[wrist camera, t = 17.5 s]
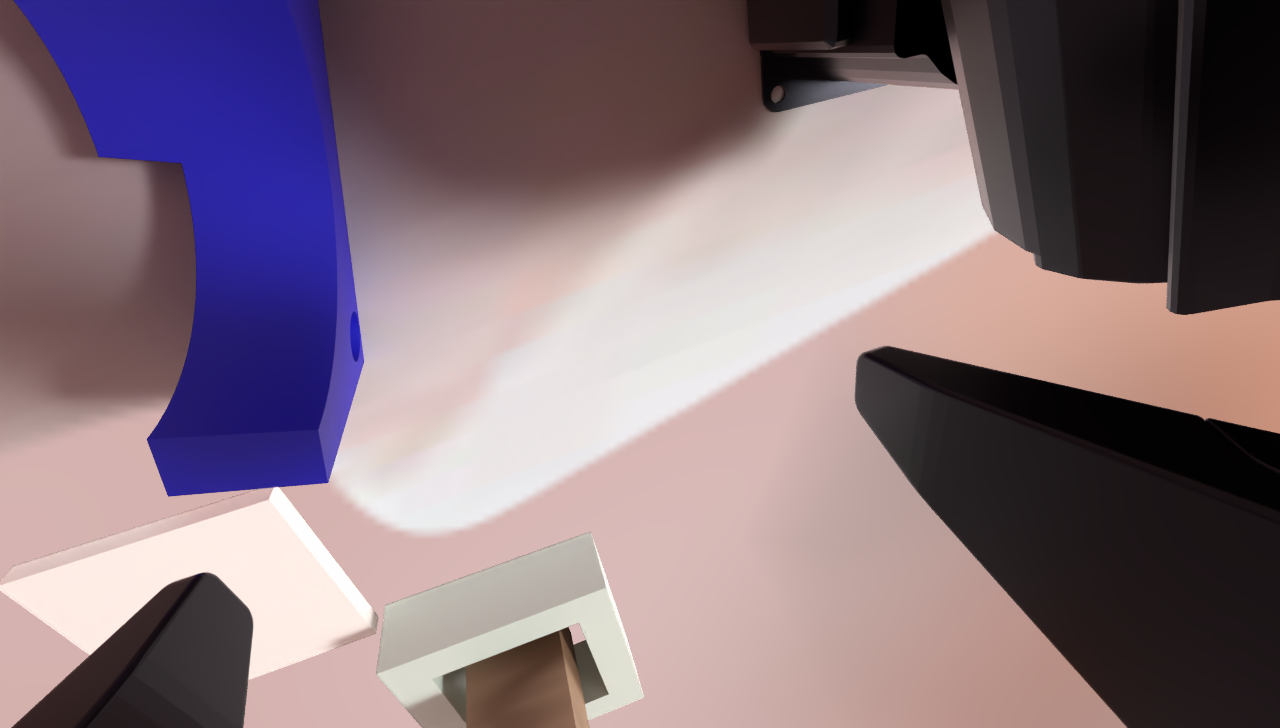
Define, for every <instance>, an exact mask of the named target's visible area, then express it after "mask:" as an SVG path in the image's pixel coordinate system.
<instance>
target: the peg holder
mask: <svg viewBox="0 0 1280 728" xmlns="http://www.w3.org/2000/svg"><path fill="white" fill-rule="evenodd" d="M577 623H579V624H580V626H581V629H582V631H583V633H584V636H585V638H586V640H585V641H582V642H580V643H577V644H575V645H573V646H574V651H575V656H576V661H577V667H578V672H579V677H580V682H581V687H582V692H583V697H584V702H585V707H586V712H587V717H588V720H591V719H593V718H596V717H598V716H600V715H603V714H605V713H608V712H610V711H613V710H615V709H617V708H620V707H622V706H624V705H627V704H630V703H632V702H634V701H637V700H639V699H642V698H644V695H643V691H642V688H641V684H640V681H639V678H638V674H637V670H636V667H635V664H634V660H633V657H632V653H631V650H630V646H629V643H628V640H627V637H626V634H625V631H624V628H623V625H622V622H621V619H620V616H619V613H618V610H617V607H616V604H615V601H614V598H613V596H612V593H611V590H610V587H609V584H608V581H607V578H606V575H605V572H604V569H603V566H602V563H601V560H600V557H599V555H598V551H597V548H596V546H595V543H594V540H593V537H592V534H591V532H588V533H585V534H582V535H580V536H577V537H574V538H571V539H569V540H566V541H563V542H560V543H557V544H555V545H552V546H549V547H546V548H543V549H540V550H538V551H535V552H532V553H530V554H527V555H524V556H521V557H519V558H516V559H513V560H510V561H507V562H505V563H502V564H499V565H496V566H493V567H490V568H488V569H485V570H482V571H479V572H476V573H474V574H471V575H468V576H465V577H462V578H460V579H457V580H454V581H451V582H449V583H446V584H443V585H440V586H437V587H435V588H432V589H429V590H426V591H424V592H421V593H418V594H415V595H413V596H409V597H407V598H404V599H401V600H399V601H396V602H393V603H390V604H387V605H385V611H384V618H383V626H382V634H381V641H380V649H379V656H378V664H377V671H376V675H377V676H378V677H379V678H380V679H381V681H382V682H383V683H384V684H385V685H386V686H387V688H388V689H389V690H390V691H391V692H392V693H393V694H394V696H395V697H396V698H397V699H398V700H399V701H400V703H401V704H402V705H403V706H404V707H405V708H406V709H407V711H408V712H409V713H410V714H411V715H412V716H413V718H414V719H415V720H416V721H417V722H418V723H419V725H420V726H421V727H422V728H467V717H466V666H467V665H470V664H473V663H475V662H478V661H481V660H483V659H486V658H488V657H491V656H494V655H496V654H499V653H501V652H504V651H507V650H509V649H512V648H514V647H517V646H520V645H522V644H525V643H527V642H530V641H533V640H535V639H538V638H540V637H543V636H546V635H548V634H551V633H553V632H556V631H559V630H561V629H564V628H566V627H569V626H572V625H574V624H577Z"/></svg>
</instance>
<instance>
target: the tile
mask: <svg viewBox="0 0 1280 728" xmlns="http://www.w3.org/2000/svg"><path fill="white" fill-rule="evenodd" d="M203 572H209V573H212V574H215V575H216V576H217V577H219V578H220V579H221V580H222V581H223V582H224V583H225V584H226V585H227V586H228V587H229V588H230V589H231V590H232V591H233V592H234V594H235V595H236V596H237V597H238V598H239V599H240V600H241V601H242V602H243V603H244V604H245V605H246V606H247V607H248V608H249V610H250V612H251V614H252V618H253V637H252V647H251V657H250V667H249V676H248V680H249V679H253V678H255V677H258V676H261V675H264V674H266V673H269V672H272V671H274V670H277V669H280V668H282V667H285V666H288V665H291V664H294V663H296V662H299V661H302V660H305V659H307V658H310V657H312V656H315V655H318V654H321V653H323V652H326V651H329V650H332V649H334V648H337V647H340V646H343V645H346V644H348V643H351V642H354V641H356V640H359V639H362V638H365V637H367V636H370V635H373V634H376V629H377V621H378V615H377V614H376V613H375V611H374V610H373V609H372V608H371V606H370V605H369V604H368V603H367V601H366V600H365V599H364V597H363V596H362V595H361V593H360V592H359V591H358V589H357V588H356V587H355V586H354V584H353V583H352V582H351V580H350V579H349V578H348V577H347V575H346V574H345V573H344V571H343V570H342V569H341V568H340V566H339V565H338V564H337V562H336V561H335V560H334V558H333V557H332V556H331V554H330V553H329V552H328V551H327V549H326V548H325V547H324V545H323V544H322V543H321V541H320V540H319V539H318V538H317V537H316V535H315V534H314V532H313V531H312V530H311V529H310V527H309V526H308V525H307V523H306V522H305V521H304V519H303V518H302V517H301V516H300V514H299V513H298V512H297V510H296V509H295V508H294V506H293V505H292V504H291V503H290V501H289V500H288V499H287V497H286V496H285V495H284V494H283V492H282V491H281V490H280V488H279V487H274V488H262V489H256V490H253V491H250V492H247V493H244V494H241V495H237V496H234V497H231V498H228V499H225V500H222V501H218V502H215V503H212V504H209V505H206V506H202V507H199V508H196V509H193V510H190V511H187V512H184V513H180V514H177V515H174V516H171V517H168V518H165V519H161V520H158V521H155V522H152V523H148V524H146V525H142V526H139V527H136V528H133V529H129V530H126V531H123V532H120V533H117V534H114V535H110V536H107V537H104V538H101V539H98V540H95V541H91V542H88V543H85V544H82V545H79V546H76V547H72V548H69V549H66V550H63V551H60V552H56V553H53V554H50V555H47V556H44V557H41V558H38V559H34V560H31V561H28V562H25V563H22V564H18V565H15V566H13V567H12V568H11V569H10V570H9V572H8V573H7V574H6V575H5V576H4V577H3V579H2V580H1V581H0V591H2V592H3V593H4V594H6V595H7V596H8V597H10V598H11V599H13V600H14V601H16V602H17V603H18V604H20V605H21V606H22V607H24V608H25V609H27V610H28V611H29V612H31V613H32V614H33V615H35V616H36V617H38V618H39V619H40V620H42V621H43V622H45V623H46V624H47V625H49V626H50V627H51V628H53V629H54V630H56V631H57V632H58V633H60V634H61V635H63V636H64V637H65V638H67V639H68V640H69V641H71V642H72V643H74V644H75V645H76V646H78V647H79V648H80V649H82V650H83V651H85V652H86V653H88V654H89V655H91V654H92V653H93V652H94V651H95V650H96V649H97V648H98V647H100V646H101V645H102V644H103V643H104V642H105V641H106V640H107V639H108V638H109V637H110V636H111V635H113V634H114V633H115V632H116V631H117V630H118V629H119V628H120V627H121V626H122V625H123V624H125V623H126V622H127V621H128V620H129V619H130V618H131V617H132V616H133V615H134V614H135V613H136V612H138V611H139V610H140V609H141V608H142V607H143V606H144V605H145V604H146V603H147V602H148V601H150V600H151V599H152V598H153V597H154V596H155V595H156V594H157V593H158V592H159V591H160V590H161V589H163V588H164V587H165V586H167V585H168V584H170V583H172V582H175V581H177V580H180V579H183V578H186V577H189V576H192V575H195V574H198V573H203Z"/></svg>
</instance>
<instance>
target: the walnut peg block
mask: <svg viewBox="0 0 1280 728" xmlns="http://www.w3.org/2000/svg"><path fill="white" fill-rule="evenodd" d="M466 717H467V728H590V727H589V723H588V717H587V712H586V707H585V702H584V697H583V692H582V687H581V682H580V677H579V672H578V667H577V661H576V656H575V651H574V646H573V641H572V636H571V632H570V630H569V628H568V627H566V628H564V629H561V630H559V631H556V632H553V633H551V634H548V635H546V636H543V637H540V638H538V639H535V640H533V641H530V642H527V643H525V644H522V645H520V646H517V647H514V648H512V649H509V650H507V651H504V652H501V653H499V654H496V655H494V656H491V657H488V658H486V659H483V660H481V661H478V662H475V663H473V664H470V665H467V666H466Z"/></svg>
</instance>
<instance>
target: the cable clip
mask: <svg viewBox="0 0 1280 728" xmlns="http://www.w3.org/2000/svg"><path fill="white" fill-rule="evenodd" d="M14 1H15V3H16V4H17V5H18V7H19V8H20V9H21V11H22V12H23V13H24V15H25V16H26V17H27V19H28V20H29V21H30V23H31V24H32V26H33V27H34V29H35V30H36V32H37V33H38V35H39V36H40V38H41V39H42V41H43V42H44V44H45V45H46V47H47V49H48V50H49V52H50V54H51V55H52V57H53V59H54V60H55V62H56V64H57V66H58V67H59V69H60V71H61V72H62V74H63V76H64V78H65V80H66V82H67V84H68V86H69V88H70V90H71V92H72V93H73V95H74V97H75V100H76V102H77V104H78V106H79V108H80V111H81V113H82V115H83V117H84V119H85V122H86V124H87V127H88V129H89V132H90V134H91V137H92V140H93V142H94V145H95V148H96V150H97V153H98V156H99V157H107V158H120V159H133V160H147V161H160V162H173V163H182V167H183V171H184V175H185V180H186V185H187V190H188V194H189V200H190V206H191V212H192V219H193V228H194V236H195V250H196V300H195V311H194V320H193V327H192V333H191V339H190V344H189V348H188V353H187V357H186V360H185V364H184V367H183V370H182V374H181V377H180V379H179V382H178V385H177V387H176V390H175V392H174V394H173V397H172V399H171V401H170V403H169V405H168V407H167V409H166V411H165V413H164V414H163V416H162V418H161V419H160V421H159V423H158V425H157V426H156V427H155V429H154V430H153V431H152V433H151V434H150V436H149V437H148V438H147V441H148V444H149V447H150V449H151V452H152V454H153V457H154V460H155V463H156V465H157V468H158V470H159V473H160V476H161V479H162V481H163V484H164V487H165V489H166V492H167V495H168V496H180V495H192V494H203V493H215V492H227V491H239V490H250V489H262V488H274V487H286V486H298V485H310V484H321V483H328V482H329V478H330V475H331V472H332V468H333V465H334V461H335V458H336V455H337V451H338V448H339V445H340V441H341V438H342V434H343V431H344V428H345V424H346V421H347V417H348V414H349V411H350V407H351V404H352V401H353V397H354V394H355V390H356V387H357V384H358V380H359V377H360V374H361V370H362V367H363V363H364V357H363V350H362V342H361V334H360V326H359V318H358V310H357V302H356V295H355V287H354V279H353V271H352V263H351V255H350V247H349V239H348V232H347V224H346V216H345V208H344V200H343V192H342V184H341V177H340V169H339V161H338V153H337V145H336V137H335V129H334V122H333V114H332V106H331V98H330V90H329V82H328V74H327V67H326V59H325V51H324V43H323V35H322V27H321V19H320V12H319V4H318V0H14Z"/></svg>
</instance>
